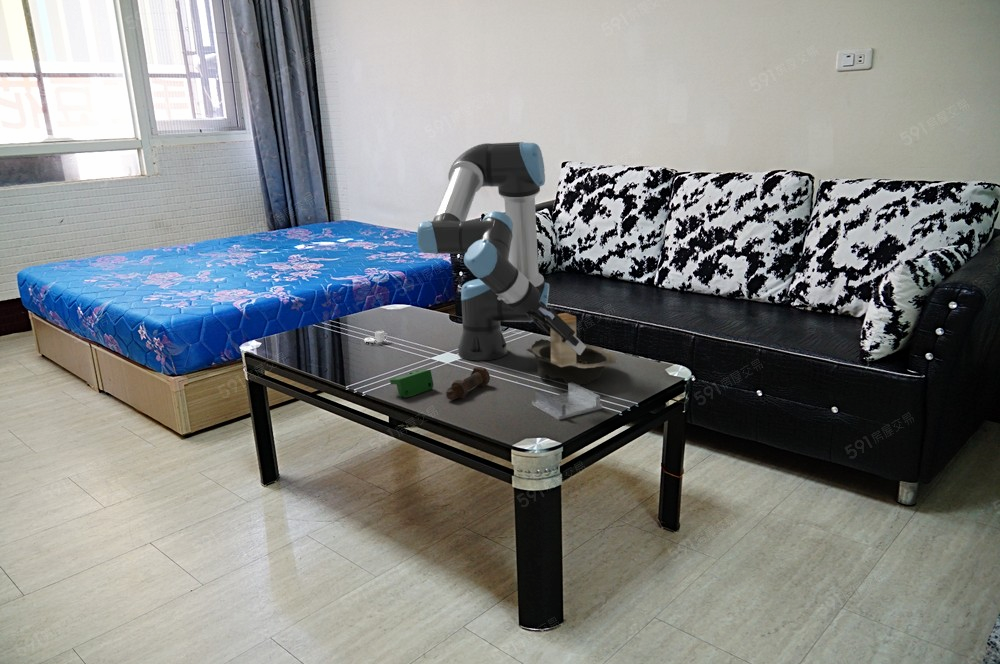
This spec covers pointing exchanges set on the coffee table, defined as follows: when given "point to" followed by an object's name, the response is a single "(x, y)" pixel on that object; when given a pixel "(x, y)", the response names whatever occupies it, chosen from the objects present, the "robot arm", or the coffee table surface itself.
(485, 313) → the robot arm
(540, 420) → the coffee table surface
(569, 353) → the block
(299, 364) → the coffee table surface
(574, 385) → the keeper bracket
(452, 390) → the bolt
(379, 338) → the teacup and saucer
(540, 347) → the stone bowl
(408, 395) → the green notched mounting bracket
